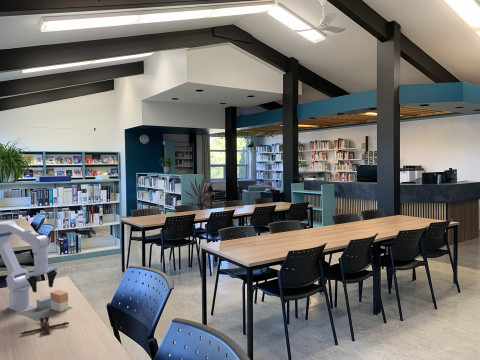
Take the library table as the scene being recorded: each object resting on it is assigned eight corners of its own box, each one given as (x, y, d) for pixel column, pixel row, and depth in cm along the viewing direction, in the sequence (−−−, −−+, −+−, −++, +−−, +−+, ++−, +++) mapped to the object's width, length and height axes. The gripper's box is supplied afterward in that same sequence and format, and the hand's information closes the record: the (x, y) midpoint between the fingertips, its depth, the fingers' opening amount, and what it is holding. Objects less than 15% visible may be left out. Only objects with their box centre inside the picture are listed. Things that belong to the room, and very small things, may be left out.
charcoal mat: (18, 313, 170) (17, 313, 170) (53, 301, 184) (53, 301, 184) (37, 321, 161) (37, 320, 161) (73, 308, 175) (72, 307, 175)
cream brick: (51, 308, 175) (50, 300, 174) (58, 305, 178) (58, 297, 178) (60, 311, 170) (60, 303, 170) (68, 308, 174) (68, 300, 174)
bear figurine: (66, 311, 165) (70, 319, 152) (67, 321, 164) (70, 330, 152) (20, 321, 155) (20, 330, 143) (20, 331, 155) (20, 341, 143)
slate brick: (41, 309, 174) (41, 301, 174) (36, 308, 176) (36, 299, 176) (57, 304, 180) (57, 296, 180) (52, 302, 183) (52, 294, 182)
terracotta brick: (50, 300, 174) (50, 292, 174) (58, 297, 178) (58, 289, 178) (60, 303, 170) (59, 295, 170) (68, 300, 174) (67, 292, 173)
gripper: (29, 265, 164) (31, 295, 164) (60, 258, 176) (62, 286, 176) (21, 264, 167) (23, 293, 168) (52, 257, 180) (54, 284, 180)
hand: (42, 289), depth 172 cm, fingers open, 7 cm apart
